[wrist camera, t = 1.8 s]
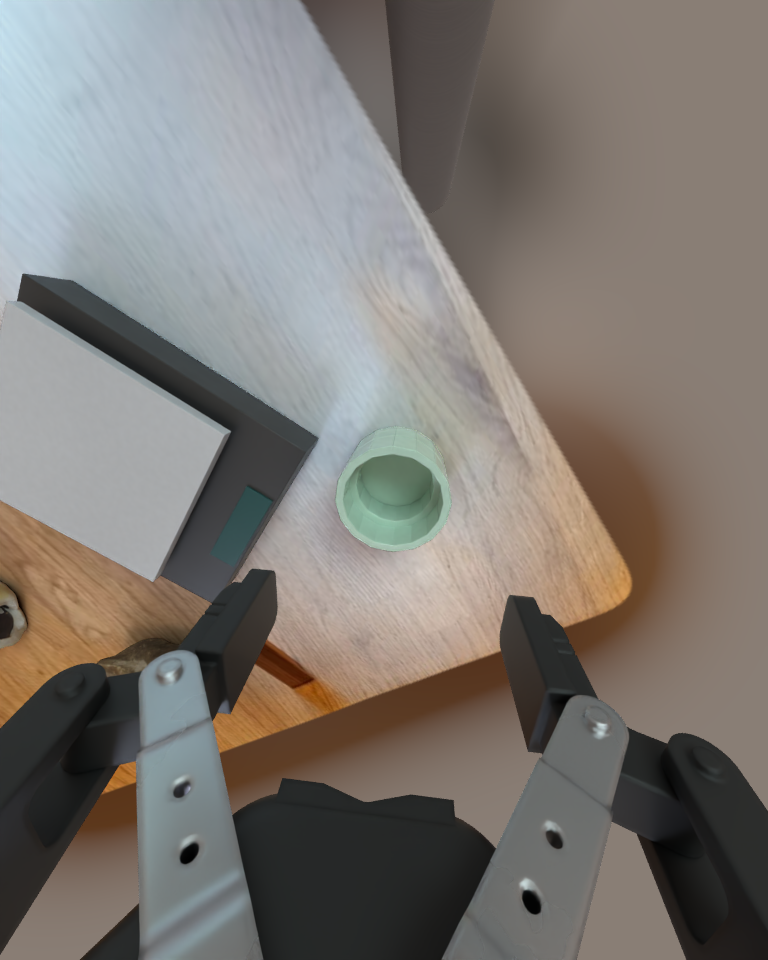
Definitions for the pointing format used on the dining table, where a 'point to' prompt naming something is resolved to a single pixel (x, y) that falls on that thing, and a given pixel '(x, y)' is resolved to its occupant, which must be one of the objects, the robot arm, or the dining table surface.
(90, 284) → the dining table surface
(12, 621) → the pastry
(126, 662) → the fossilized seashell
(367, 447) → the cup
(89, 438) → the scale
